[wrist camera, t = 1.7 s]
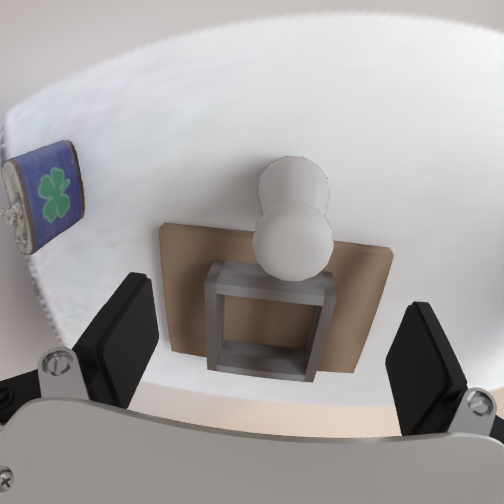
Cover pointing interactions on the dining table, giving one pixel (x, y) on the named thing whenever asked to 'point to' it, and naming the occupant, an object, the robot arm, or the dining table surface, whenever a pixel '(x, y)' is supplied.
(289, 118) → the dining table surface
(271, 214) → the salt shaker
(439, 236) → the dining table surface
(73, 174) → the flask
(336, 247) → the holder board
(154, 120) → the dining table surface
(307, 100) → the dining table surface
